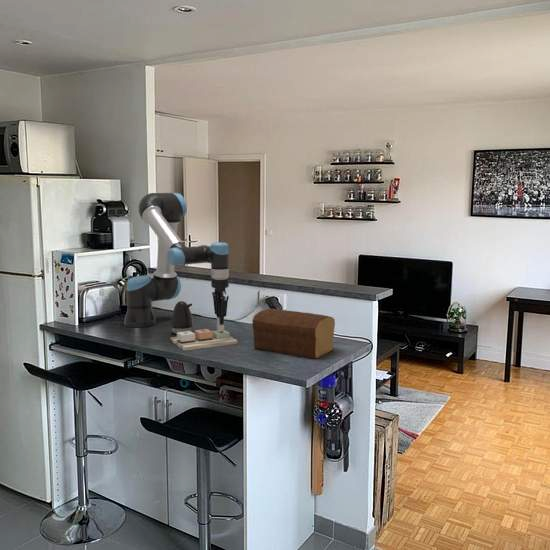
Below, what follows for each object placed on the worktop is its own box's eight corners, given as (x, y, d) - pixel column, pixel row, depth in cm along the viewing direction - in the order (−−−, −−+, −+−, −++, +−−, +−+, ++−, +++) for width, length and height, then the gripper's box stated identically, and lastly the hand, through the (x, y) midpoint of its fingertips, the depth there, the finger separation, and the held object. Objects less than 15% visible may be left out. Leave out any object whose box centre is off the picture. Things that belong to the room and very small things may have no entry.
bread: (314, 360, 225) (315, 320, 222) (251, 349, 240) (251, 311, 238) (335, 350, 240) (336, 312, 238) (274, 340, 256) (274, 304, 253)
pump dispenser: (187, 337, 260) (186, 303, 257) (166, 335, 263) (166, 302, 261) (197, 332, 269) (197, 299, 267) (177, 330, 272) (177, 298, 270)
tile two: (194, 336, 252) (194, 330, 251) (207, 334, 255) (207, 328, 254) (199, 339, 247) (199, 333, 246) (212, 337, 249) (212, 331, 249)
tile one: (176, 338, 248) (176, 332, 248) (190, 336, 251) (190, 330, 250) (181, 341, 243) (181, 335, 242) (195, 340, 246) (195, 333, 245)
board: (170, 340, 253) (170, 337, 253) (221, 334, 264) (220, 331, 264) (184, 350, 237) (184, 347, 237) (237, 343, 249) (237, 340, 248)
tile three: (211, 337, 256) (211, 331, 255) (224, 335, 259) (224, 329, 258) (216, 340, 250) (216, 334, 250) (229, 338, 253) (229, 332, 253)
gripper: (206, 276, 255) (207, 329, 258) (217, 280, 243) (218, 335, 247) (222, 275, 258) (222, 327, 261) (234, 279, 247) (234, 333, 250)
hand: (220, 331), depth 254 cm, fingers closed
